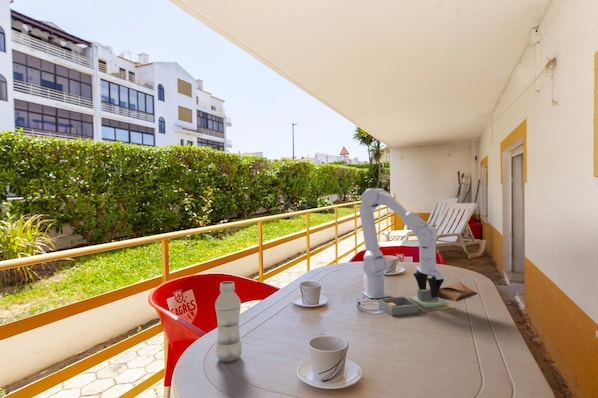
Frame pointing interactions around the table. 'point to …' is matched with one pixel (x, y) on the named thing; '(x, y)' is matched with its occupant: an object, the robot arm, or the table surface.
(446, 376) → the table surface
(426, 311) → the cork mat
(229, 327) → the plastic bottle
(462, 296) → the sunglasses case
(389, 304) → the storage box
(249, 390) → the table surface
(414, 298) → the lid
